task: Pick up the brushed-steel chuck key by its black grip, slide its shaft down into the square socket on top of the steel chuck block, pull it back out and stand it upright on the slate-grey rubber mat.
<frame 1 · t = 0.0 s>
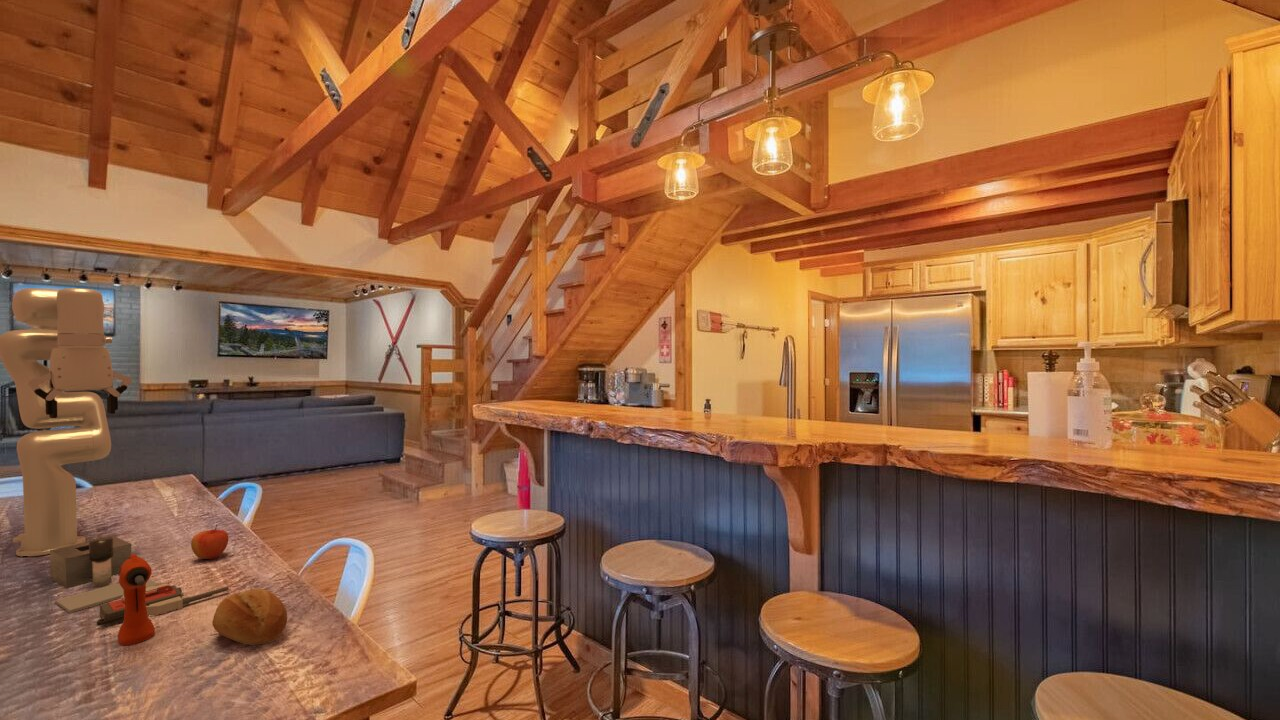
hand: (83, 415, 127), 37 cm above the table, tool pointing down, fingers open, 9 cm apart
apple: (210, 559, 137), on the table
toy drill: (138, 645, 96), on the table
chuck key: (102, 584, 122), on the table
chuck block: (91, 574, 128), on the table
bread roll: (250, 637, 99), on the table
walkie-talkie: (163, 609, 111), on the table
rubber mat: (108, 594, 117), on the table
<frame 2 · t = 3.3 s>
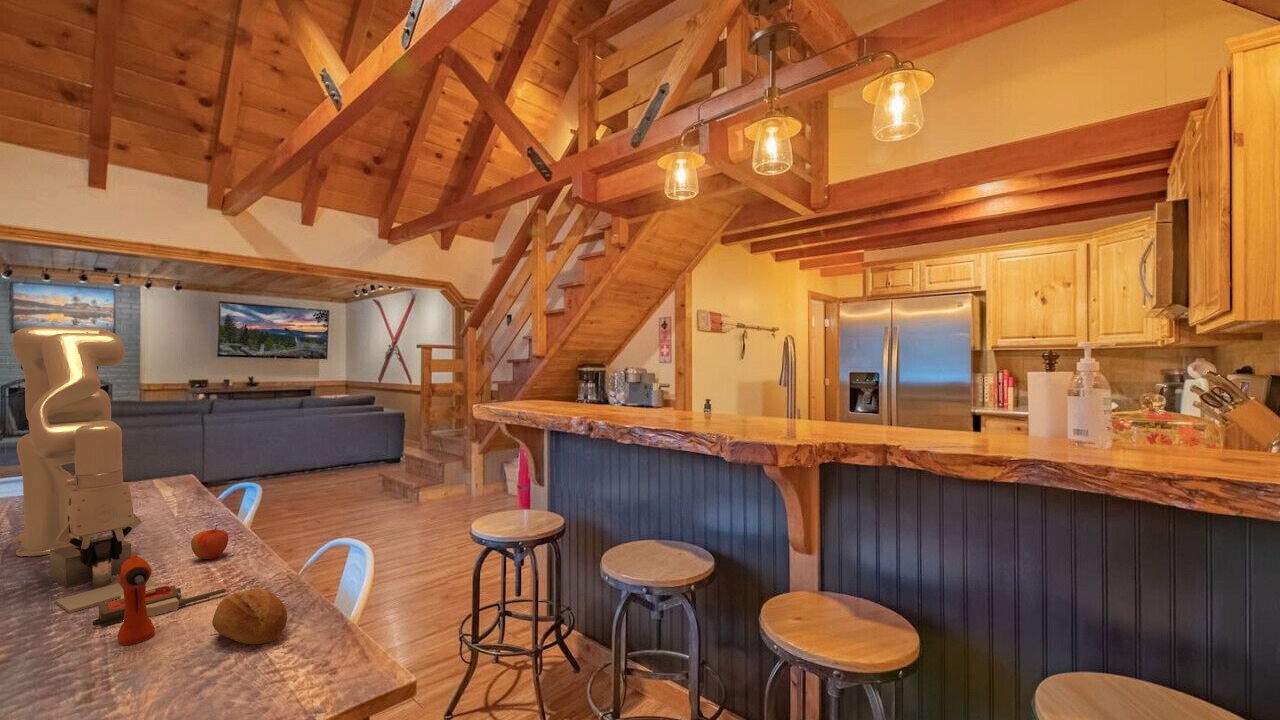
hand: (101, 561, 122), 5 cm above the table, tool pointing down, fingers closed on chuck key, 3 cm apart
chuck key: (102, 584, 122), on the table, touching gripper
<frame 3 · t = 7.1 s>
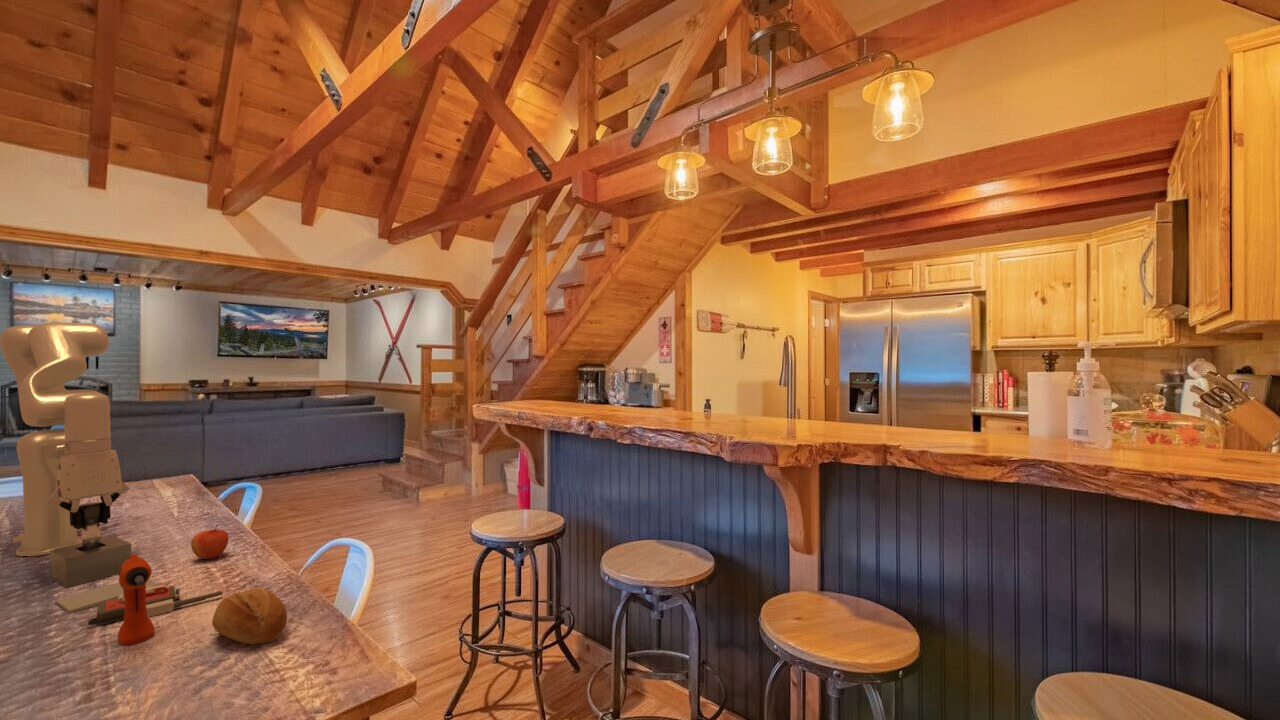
hand: (90, 524, 128), 12 cm above the table, tool pointing down, fingers closed on chuck key, 3 cm apart
chuck key: (91, 547, 128), point 6 cm above the table, touching gripper
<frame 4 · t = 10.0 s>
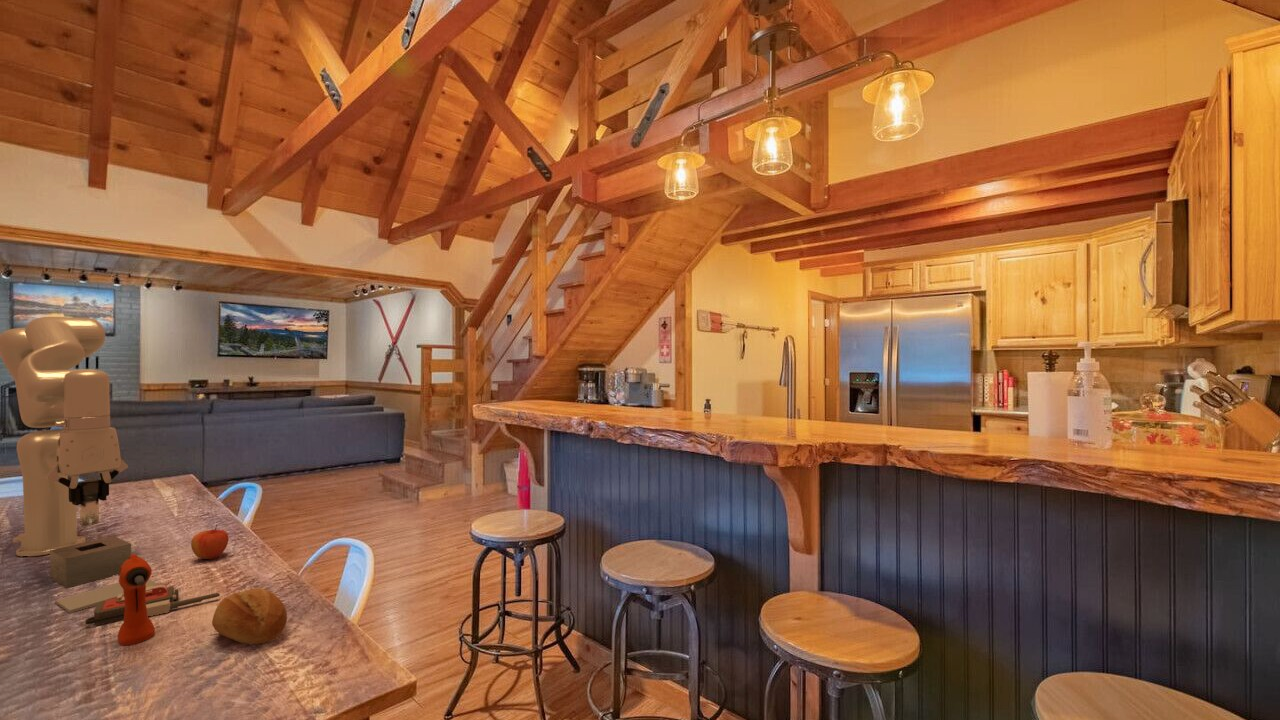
hand: (89, 501, 128), 17 cm above the table, tool pointing down, fingers closed on chuck key, 3 cm apart
chuck key: (90, 523, 128), point 12 cm above the table, touching gripper
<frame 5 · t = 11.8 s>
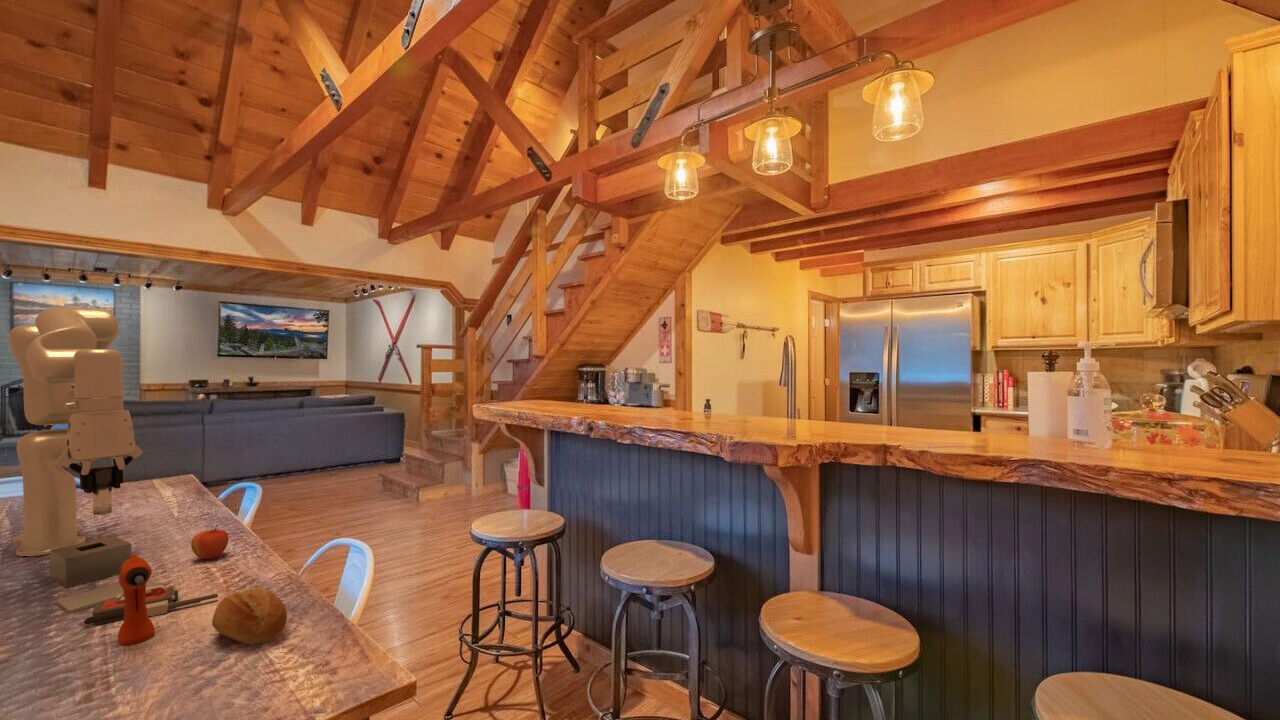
hand: (102, 489, 119), 22 cm above the table, tool pointing down, fingers closed on chuck key, 3 cm apart
chuck key: (102, 513, 119), point 17 cm above the table, touching gripper
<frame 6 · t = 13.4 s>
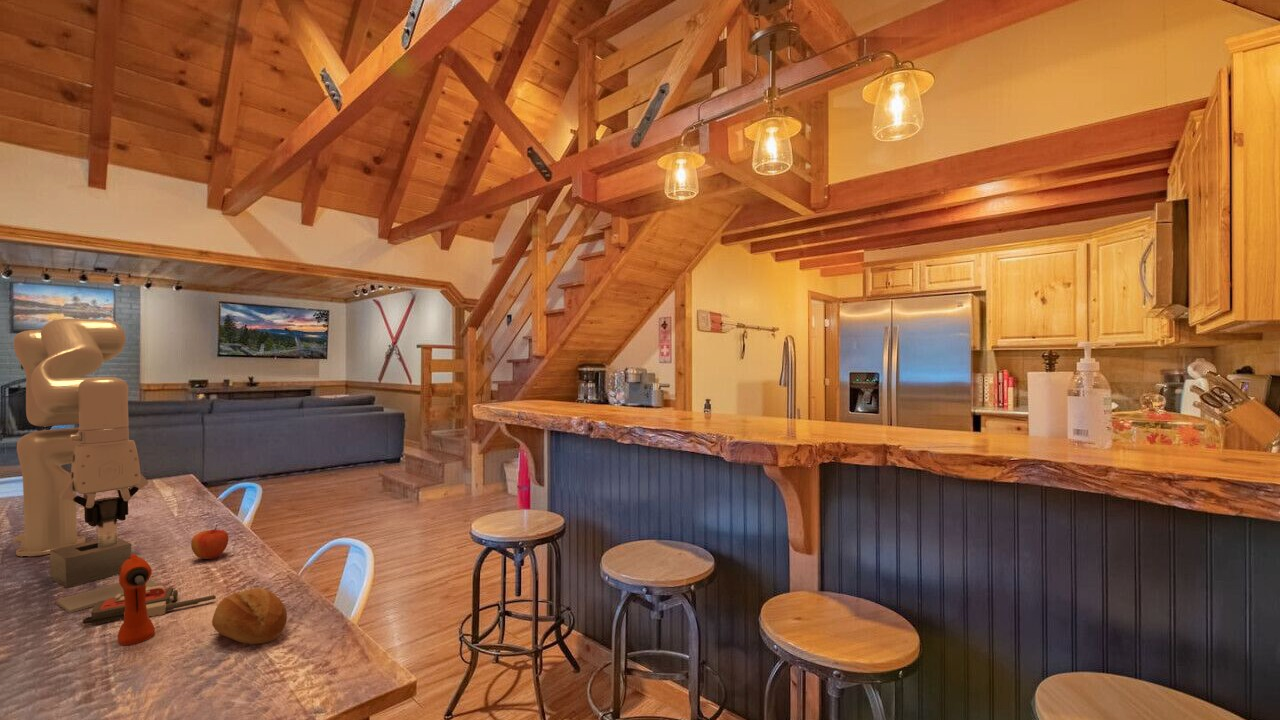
hand: (107, 521, 116), 16 cm above the table, tool pointing down, fingers closed on chuck key, 3 cm apart
chuck key: (107, 546, 116), point 11 cm above the table, touching gripper
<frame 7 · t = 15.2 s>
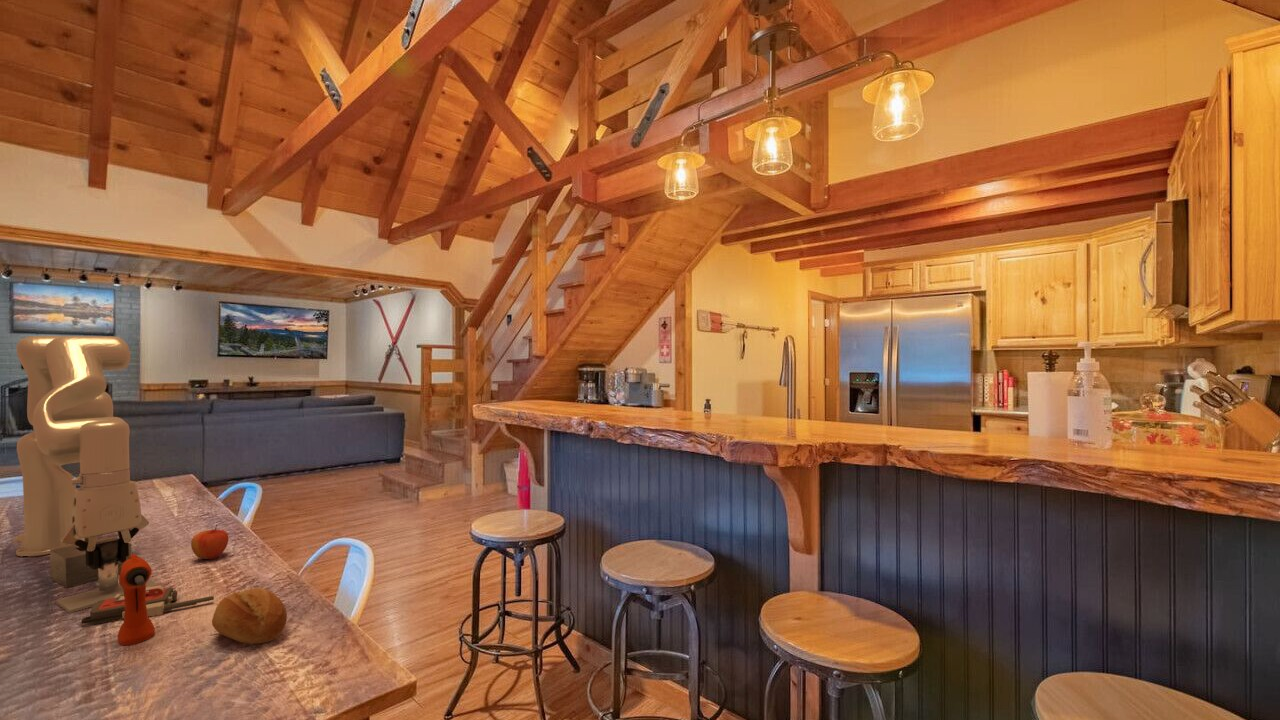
hand: (107, 563, 117), 7 cm above the table, tool pointing down, fingers closed on chuck key, 3 cm apart
chuck key: (108, 588, 117), point 1 cm above the table, touching gripper
when the fingers open (7 cm above the table, at t = 15.2 s): chuck key stays where it is, resting on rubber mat.
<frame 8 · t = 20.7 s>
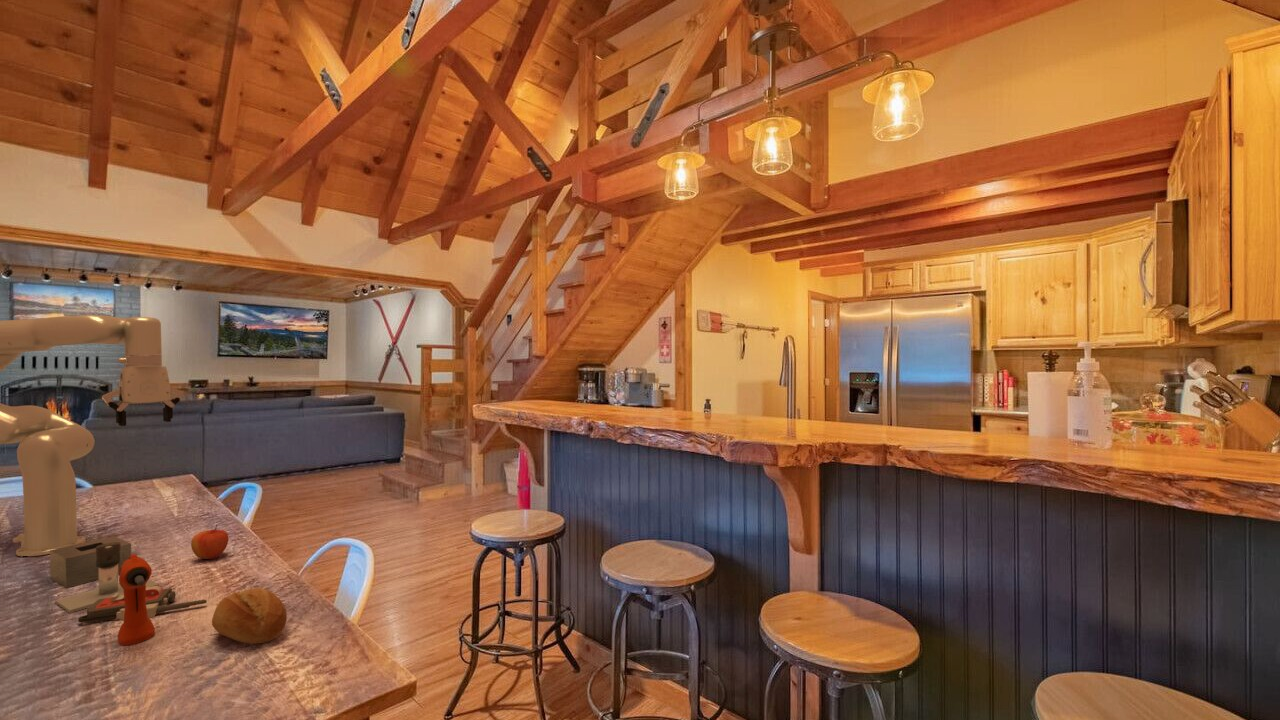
hand: (145, 423, 152), 32 cm above the table, tool pointing down, fingers open, 9 cm apart
chuck key: (108, 591, 117), point 1 cm above the table, touching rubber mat
at the end: chuck key 0.0 cm off-centre on the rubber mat, point 0.6 cm above the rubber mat's base; chuck key tilted 1°; the gripper is holding nothing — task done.
